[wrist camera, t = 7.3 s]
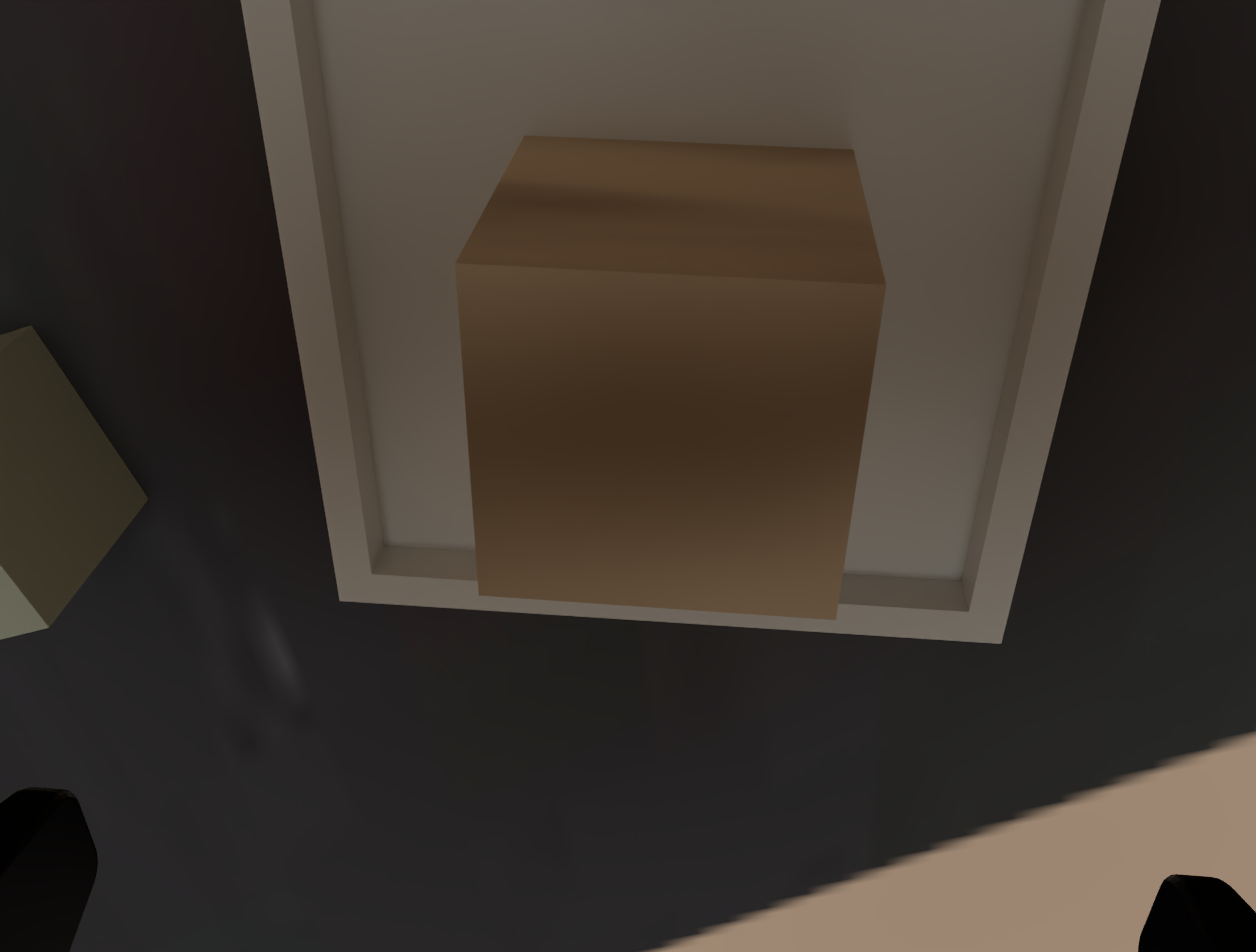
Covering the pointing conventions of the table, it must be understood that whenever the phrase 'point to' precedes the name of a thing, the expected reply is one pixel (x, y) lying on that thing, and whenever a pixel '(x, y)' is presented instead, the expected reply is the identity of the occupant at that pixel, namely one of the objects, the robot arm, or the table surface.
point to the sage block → (52, 487)
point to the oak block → (669, 373)
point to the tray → (718, 114)
